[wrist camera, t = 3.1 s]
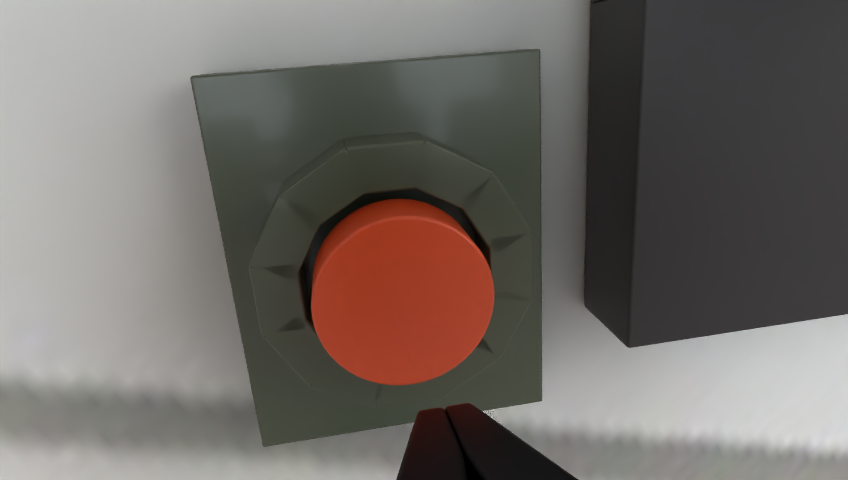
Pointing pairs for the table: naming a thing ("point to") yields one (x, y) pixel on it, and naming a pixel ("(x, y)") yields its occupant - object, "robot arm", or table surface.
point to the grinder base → (716, 166)
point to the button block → (364, 184)
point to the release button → (400, 292)
